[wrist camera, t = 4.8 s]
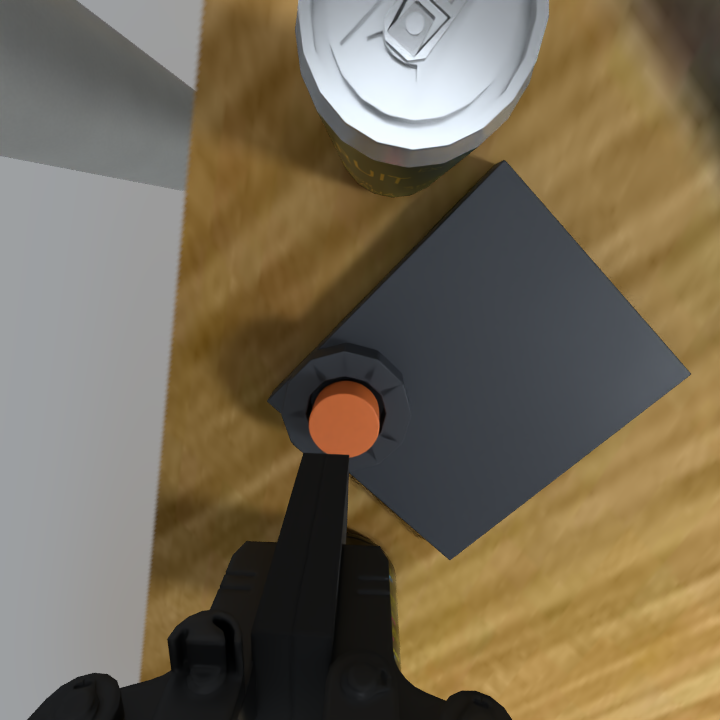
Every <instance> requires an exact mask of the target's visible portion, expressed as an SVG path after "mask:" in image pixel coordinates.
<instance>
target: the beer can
mask: <svg viewBox="0 0 720 720" xmlns="http://www.w3.org/2000/svg"><path fill="white" fill-rule="evenodd" d="M548 17H549V0H299V1H298V11H297V19H296V26H295V33H296V41H297V48H298V56H299V63H300V71H301V75H302V77H303V79H304V82H305V84H306V86H307V89H308V91H309V93H310V96H311V98H312V100H313V103H314V105H315V107H316V110H317V112H318V114H319V116H320V118H321V120H322V122H323V124H324V126H325V128H326V130H327V132H328V134H329V136H330V138H331V140H332V142H333V144H334V146H335V148H336V150H337V152H338V154H339V156H340V158H341V160H342V162H343V164H344V166H345V168H346V170H347V171H348V172H349V173H350V174H351V176H352V177H353V178H354V179H355V180H356V181H357V183H358V184H360V185H361V186H363V187H365V188H366V189H368V190H369V191H371V192H373V193H374V194H379V195H383V196H388V197H400V196H408V195H412V194H414V193H416V192H418V191H420V190H423V189H425V188H427V187H428V186H430V185H431V184H432V183H433V182H435V181H436V180H437V179H438V178H440V177H441V176H442V175H443V174H445V173H446V172H447V171H448V170H450V169H451V168H452V167H453V166H455V165H456V164H457V163H458V162H460V161H461V160H462V159H463V158H465V157H466V156H467V155H468V154H470V153H471V152H472V151H473V150H475V149H476V148H477V147H478V146H479V145H480V144H482V143H483V142H484V141H485V140H486V139H487V138H488V137H489V136H490V135H491V134H492V133H493V132H494V131H495V130H496V129H498V128H499V127H500V126H501V125H502V124H503V123H504V122H505V121H506V120H507V119H508V117H509V116H510V114H511V112H512V111H513V109H514V107H515V106H516V104H517V102H518V101H519V99H520V97H521V96H522V94H523V92H524V91H525V89H526V87H527V86H528V84H529V82H530V79H531V75H532V72H533V68H534V65H535V63H536V60H537V57H538V53H539V50H540V46H541V42H542V39H543V35H544V32H545V28H546V25H547V21H548Z"/></svg>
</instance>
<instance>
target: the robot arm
mask: <svg viewBox="0 0 720 720" xmlns="http://www.w3.org/2000/svg"><path fill="white" fill-rule="evenodd" d="M348 480H349V455H343V454H321V453H303V456H302V460H301V463H300V467H299V470H298V473H297V477H296V480H295V484H294V487H293V490H292V494H291V497H290V501H289V504H288V507H287V511H286V514H285V518H284V521H283V524H282V528H281V531H280V535H279V538H278V541H277V542H256V541H246V542H245V543H244V544H243V545H242V546H241V547H240V548H239V549H238V550H237V551H236V552H235V553H234V554H233V556H232V558H231V561H230V563H229V565H228V568H227V570H226V574H225V575H224V577H223V580H222V582H221V585H220V589H218V592H217V594H216V597H215V599H214V601H213V604H212V606H211V609H210V610H207V611H201V612H199V613H197V614H194V615H192V616H189V617H188V618H186V619H185V620H184V621H183V622H181V623H180V624H179V625H177V626H176V627H175V629H174V630H173V632H172V633H171V635H170V636H169V637H168V639H167V640H168V647H169V655H170V663H171V671H169V672H168V673H166V674H164V675H162V676H160V677H157V678H154V679H152V680H148V681H145V682H141V683H137V684H133V685H130V686H126V687H122V688H119V685H118V682H117V680H115V679H114V678H112V677H111V676H109V675H108V674H100V673H92V674H88V675H84V676H80V677H77V678H76V679H73V680H72V681H70V682H68V683H66V684H64V685H62V686H61V687H60V688H59V689H57V690H56V691H55V692H54V693H53V694H52V695H51V696H49V697H48V698H47V699H46V700H45V701H44V702H43V703H42V704H41V705H40V707H38V709H37V710H36V711H35V712H34V713H33V714H32V715H31V716H30V717H29V718H28V719H27V720H512V719H511V717H510V716H509V714H508V713H507V711H506V710H505V709H504V707H503V706H501V705H500V704H499V703H498V702H496V701H495V700H494V699H493V698H491V697H490V696H488V695H485V694H483V693H480V692H477V691H460V692H458V693H456V694H453V695H451V696H450V697H449V698H448V699H447V701H445V700H443V699H440V698H438V697H435V696H433V695H430V694H428V693H425V692H424V691H422V690H420V689H418V688H416V687H415V686H413V685H412V684H411V683H410V682H409V681H408V680H406V678H405V677H404V676H403V674H402V673H401V672H400V670H399V668H398V666H397V664H396V662H395V658H394V652H393V637H392V618H391V598H390V582H389V561H388V559H387V557H386V556H385V554H384V552H383V551H382V549H381V547H380V546H367V545H346V531H347V511H348Z"/></svg>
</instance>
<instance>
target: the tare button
mask: <svg viewBox="0 0 720 720" xmlns="http://www.w3.org/2000/svg"><path fill="white" fill-rule="evenodd" d="M309 432H310V435H311V437H312V439H313V441H314V443H315V444H316V445H317V446H318V447H319V448H320V449H321V450H322V451H324V452H325V453H327V454H343V455H349V458H350V457H355V456H358V455H360V454H362V453H364V452H366V451H367V450H368V449H370V447H371V446H372V445H373V444H374V443H375V441H376V439H377V437H378V434H379V406H378V402H377V400H376V398H375V396H374V395H373V393H372V392H371V391H370V390H369V389H368V388H366V387H365V386H363V385H362V384H359V383H357V382H353V381H338V382H335V383H332V384H330V385H328V386H326V387H325V388H324V389H323V390H322V391H321V392H320V393H319V394H318V396H317V398H316V400H315V403H314V406H313V408H312V411H311V414H310V417H309Z"/></svg>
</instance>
